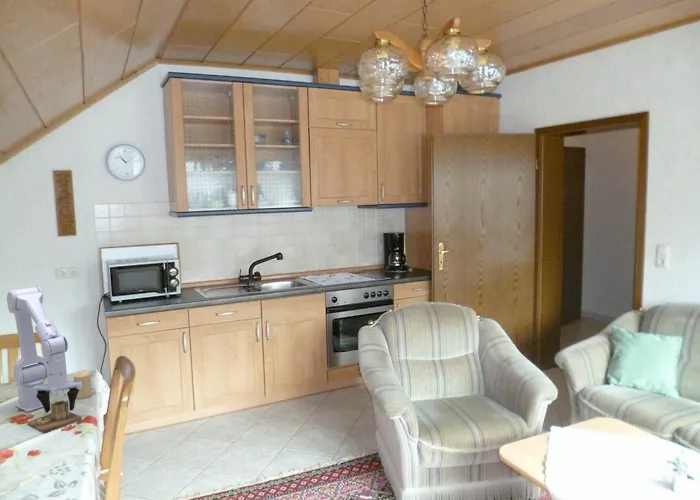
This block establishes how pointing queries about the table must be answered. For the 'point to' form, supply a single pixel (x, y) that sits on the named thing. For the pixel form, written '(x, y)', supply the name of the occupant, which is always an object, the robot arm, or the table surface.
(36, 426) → the gear board
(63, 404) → the maple gear
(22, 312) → the robot arm
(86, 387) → the candle
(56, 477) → the table surface
